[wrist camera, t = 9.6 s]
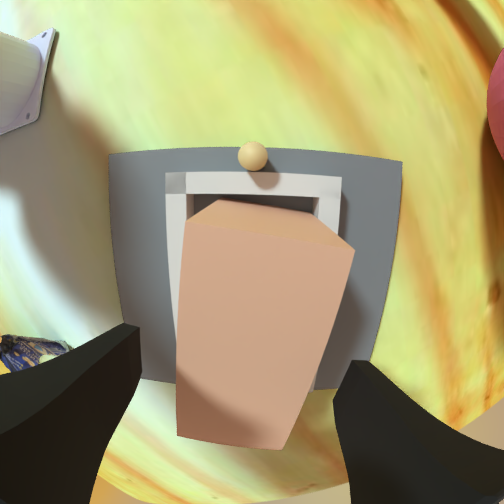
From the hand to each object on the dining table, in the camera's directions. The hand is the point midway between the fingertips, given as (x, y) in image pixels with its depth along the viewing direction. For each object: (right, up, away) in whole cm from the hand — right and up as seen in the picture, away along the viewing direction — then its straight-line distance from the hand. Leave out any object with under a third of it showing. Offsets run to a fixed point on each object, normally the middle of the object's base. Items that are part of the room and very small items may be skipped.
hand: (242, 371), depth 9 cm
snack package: (-20, -7, +11) cm, 24 cm away
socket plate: (0, +2, +7) cm, 8 cm away
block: (0, +2, +6) cm, 7 cm away
